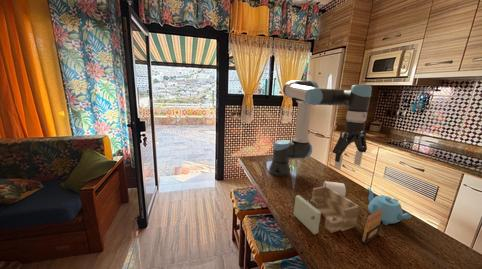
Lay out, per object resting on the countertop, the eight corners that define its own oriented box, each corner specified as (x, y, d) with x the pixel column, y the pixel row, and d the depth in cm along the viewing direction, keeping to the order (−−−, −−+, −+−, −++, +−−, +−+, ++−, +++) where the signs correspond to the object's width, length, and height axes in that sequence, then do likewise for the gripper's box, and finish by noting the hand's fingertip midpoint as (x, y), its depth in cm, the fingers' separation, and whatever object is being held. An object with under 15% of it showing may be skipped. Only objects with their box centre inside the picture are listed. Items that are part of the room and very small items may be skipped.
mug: (344, 200, 104) (346, 187, 102) (325, 198, 106) (327, 185, 104) (338, 190, 116) (340, 178, 114) (320, 187, 118) (322, 175, 116)
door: (291, 215, 90) (293, 196, 88) (296, 213, 91) (299, 195, 89) (312, 235, 78) (315, 213, 76) (317, 233, 79) (321, 212, 77)
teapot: (365, 221, 88) (370, 199, 85) (363, 206, 100) (367, 186, 97) (407, 233, 81) (414, 210, 78) (399, 216, 93) (405, 195, 90)
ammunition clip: (365, 243, 75) (371, 217, 72) (360, 240, 76) (366, 214, 73) (378, 234, 80) (384, 209, 77) (373, 231, 82) (379, 206, 79)
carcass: (302, 208, 96) (304, 190, 93) (323, 202, 101) (325, 185, 99) (332, 234, 79) (336, 213, 76) (356, 226, 84) (360, 206, 82)
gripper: (343, 123, 74) (335, 173, 79) (381, 121, 85) (372, 166, 90) (328, 120, 81) (321, 166, 86) (365, 119, 91) (357, 160, 96)
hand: (347, 166), depth 88 cm, fingers open, 13 cm apart
